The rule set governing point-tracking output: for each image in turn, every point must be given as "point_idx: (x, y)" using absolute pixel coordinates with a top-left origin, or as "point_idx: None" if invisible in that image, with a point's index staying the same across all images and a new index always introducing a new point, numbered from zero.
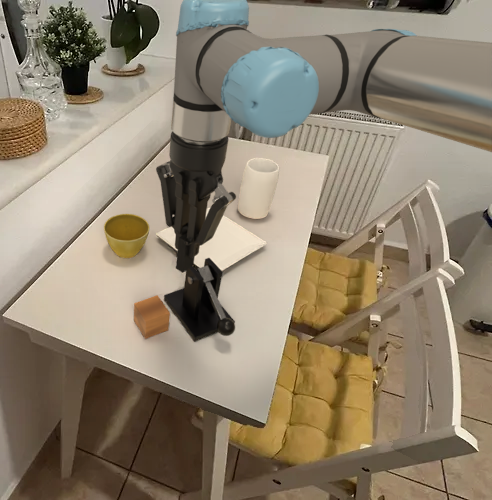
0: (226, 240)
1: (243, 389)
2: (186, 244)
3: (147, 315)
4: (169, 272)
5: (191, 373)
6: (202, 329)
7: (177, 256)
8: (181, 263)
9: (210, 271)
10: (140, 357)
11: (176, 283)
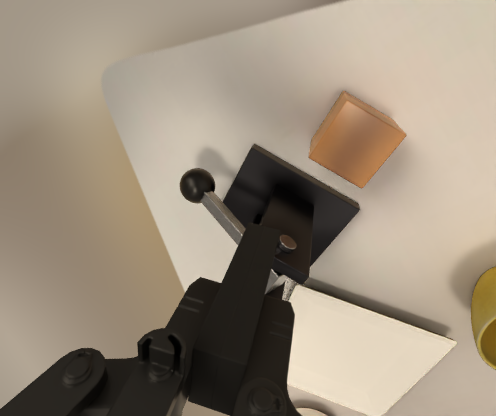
0: (318, 360)
1: (140, 102)
2: (167, 332)
3: (353, 119)
4: (381, 267)
5: (221, 74)
6: (250, 171)
7: (268, 268)
8: (249, 248)
9: None
10: (328, 38)
11: (354, 249)
